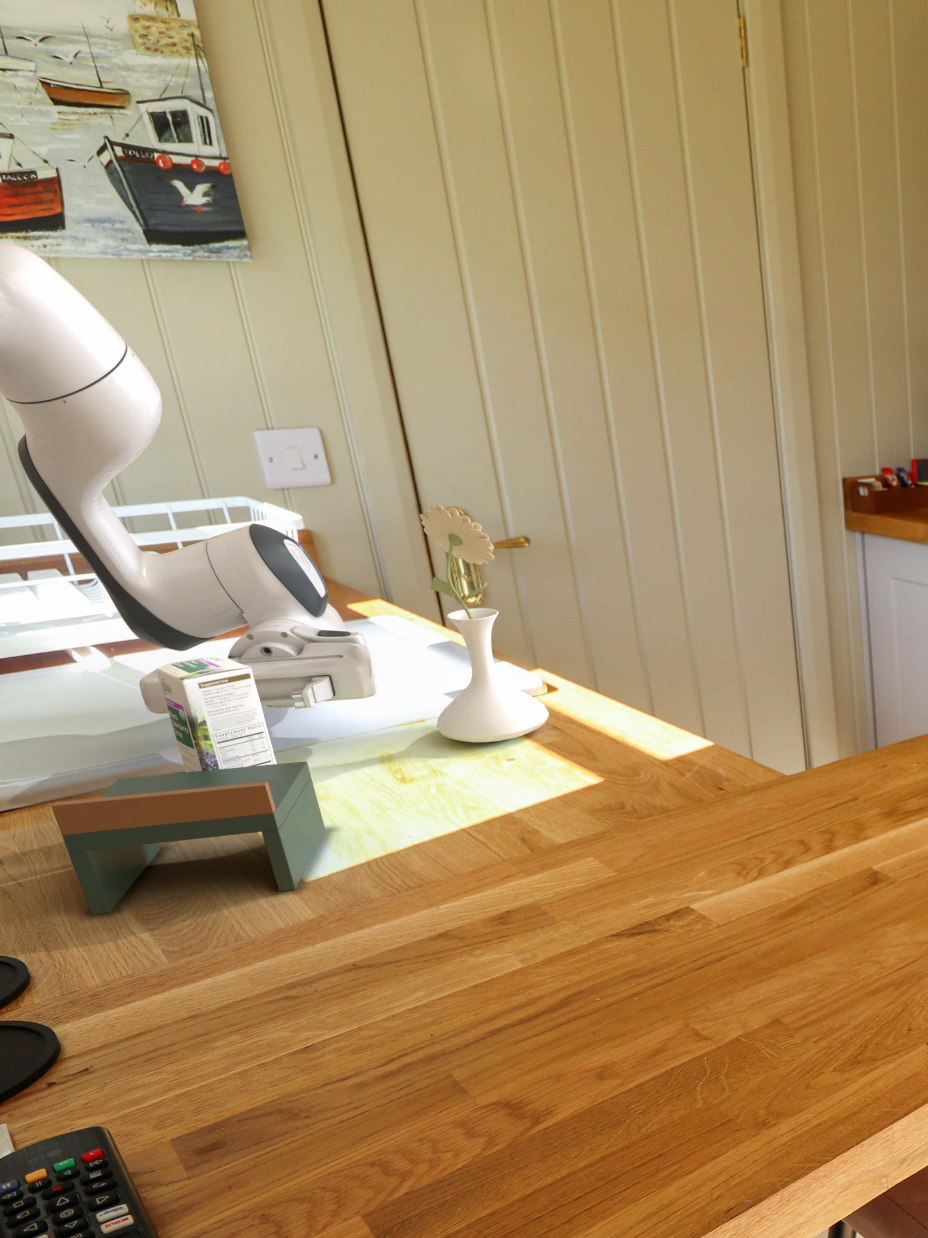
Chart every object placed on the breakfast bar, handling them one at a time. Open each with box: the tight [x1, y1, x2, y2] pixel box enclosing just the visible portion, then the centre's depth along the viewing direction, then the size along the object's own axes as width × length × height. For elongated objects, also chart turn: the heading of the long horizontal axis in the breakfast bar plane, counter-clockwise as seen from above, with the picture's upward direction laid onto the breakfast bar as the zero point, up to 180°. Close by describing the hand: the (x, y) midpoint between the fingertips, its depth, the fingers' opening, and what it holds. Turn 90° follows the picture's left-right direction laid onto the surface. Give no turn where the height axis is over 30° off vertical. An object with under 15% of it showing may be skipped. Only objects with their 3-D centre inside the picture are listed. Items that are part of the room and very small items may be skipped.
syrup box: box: [155, 655, 278, 772], centre depth 107 cm, size 6×6×14 cm
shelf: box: [50, 760, 326, 916], centre depth 97 cm, size 14×12×10 cm
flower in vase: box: [419, 504, 549, 743], centre depth 126 cm, size 13×11×25 cm
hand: (245, 704), depth 114 cm, fingers open, 8 cm apart
